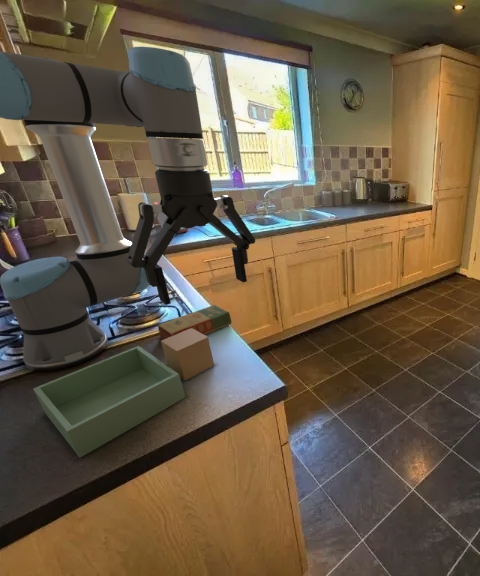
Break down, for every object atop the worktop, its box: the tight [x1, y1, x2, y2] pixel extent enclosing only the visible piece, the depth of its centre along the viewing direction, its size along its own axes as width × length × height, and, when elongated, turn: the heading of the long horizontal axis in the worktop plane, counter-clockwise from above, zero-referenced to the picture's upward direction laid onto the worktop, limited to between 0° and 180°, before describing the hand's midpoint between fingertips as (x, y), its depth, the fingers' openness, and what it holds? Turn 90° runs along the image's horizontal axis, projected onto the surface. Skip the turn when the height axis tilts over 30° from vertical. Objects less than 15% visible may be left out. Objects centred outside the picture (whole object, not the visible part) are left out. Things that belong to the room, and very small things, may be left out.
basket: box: [32, 345, 186, 458], centre depth 65 cm, size 18×18×6 cm
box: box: [160, 328, 215, 381], centre depth 76 cm, size 7×7×8 cm
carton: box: [157, 304, 232, 340], centre depth 92 cm, size 8×16×4 cm, turn 144°
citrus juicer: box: [153, 201, 189, 235], centre depth 186 cm, size 16×17×20 cm
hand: (206, 290), depth 60 cm, fingers open, 13 cm apart
